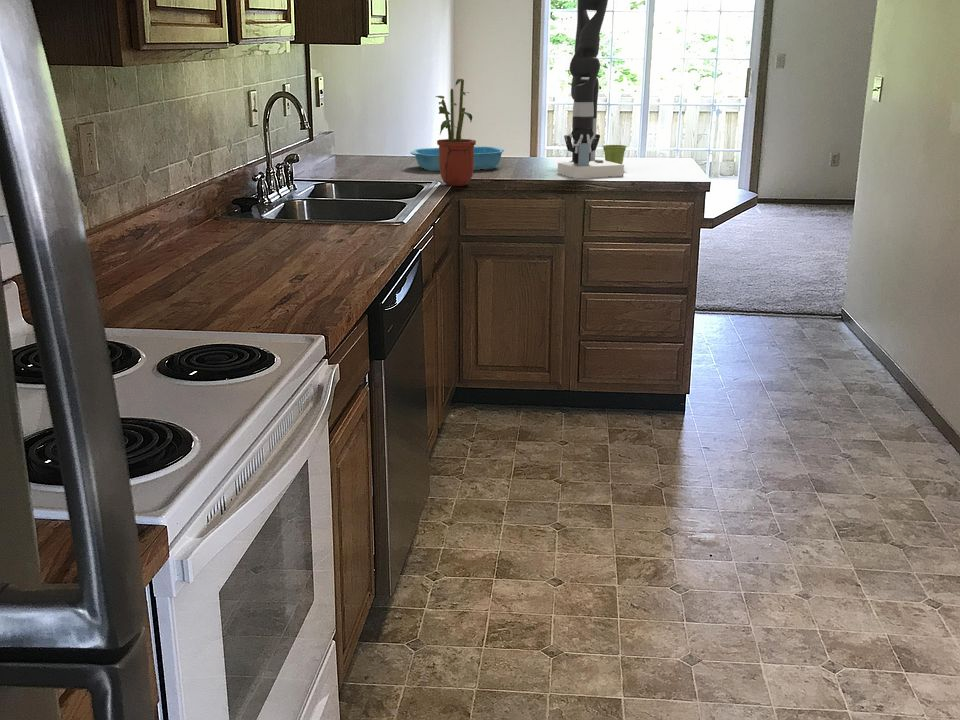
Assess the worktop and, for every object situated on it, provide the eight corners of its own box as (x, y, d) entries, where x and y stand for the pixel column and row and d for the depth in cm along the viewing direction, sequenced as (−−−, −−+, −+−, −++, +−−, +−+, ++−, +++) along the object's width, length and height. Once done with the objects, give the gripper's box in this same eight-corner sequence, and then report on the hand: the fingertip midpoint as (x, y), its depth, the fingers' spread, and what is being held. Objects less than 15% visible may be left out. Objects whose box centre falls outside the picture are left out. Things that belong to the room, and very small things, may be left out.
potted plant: (483, 184, 332) (483, 78, 321) (457, 189, 319) (457, 79, 308) (441, 180, 341) (440, 77, 330) (415, 185, 328) (413, 78, 317)
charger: (573, 167, 353) (574, 142, 351) (583, 167, 355) (584, 142, 352) (578, 168, 350) (579, 143, 347) (588, 168, 351) (589, 143, 348)
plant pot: (597, 169, 372) (598, 146, 370) (606, 166, 380) (607, 144, 377) (620, 170, 368) (622, 147, 365) (629, 168, 376) (630, 145, 373)
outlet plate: (557, 173, 359) (558, 160, 358) (605, 171, 366) (605, 158, 365) (574, 178, 347) (575, 164, 346) (623, 175, 354) (624, 162, 353)
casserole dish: (418, 173, 360) (418, 154, 358) (405, 166, 380) (404, 147, 378) (511, 170, 370) (512, 151, 368) (494, 163, 390) (494, 145, 388)
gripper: (595, 113, 352) (593, 161, 358) (560, 114, 347) (559, 162, 353) (605, 115, 346) (603, 163, 351) (570, 116, 341) (568, 165, 346)
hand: (581, 163), depth 352 cm, fingers closed on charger, 4 cm apart
